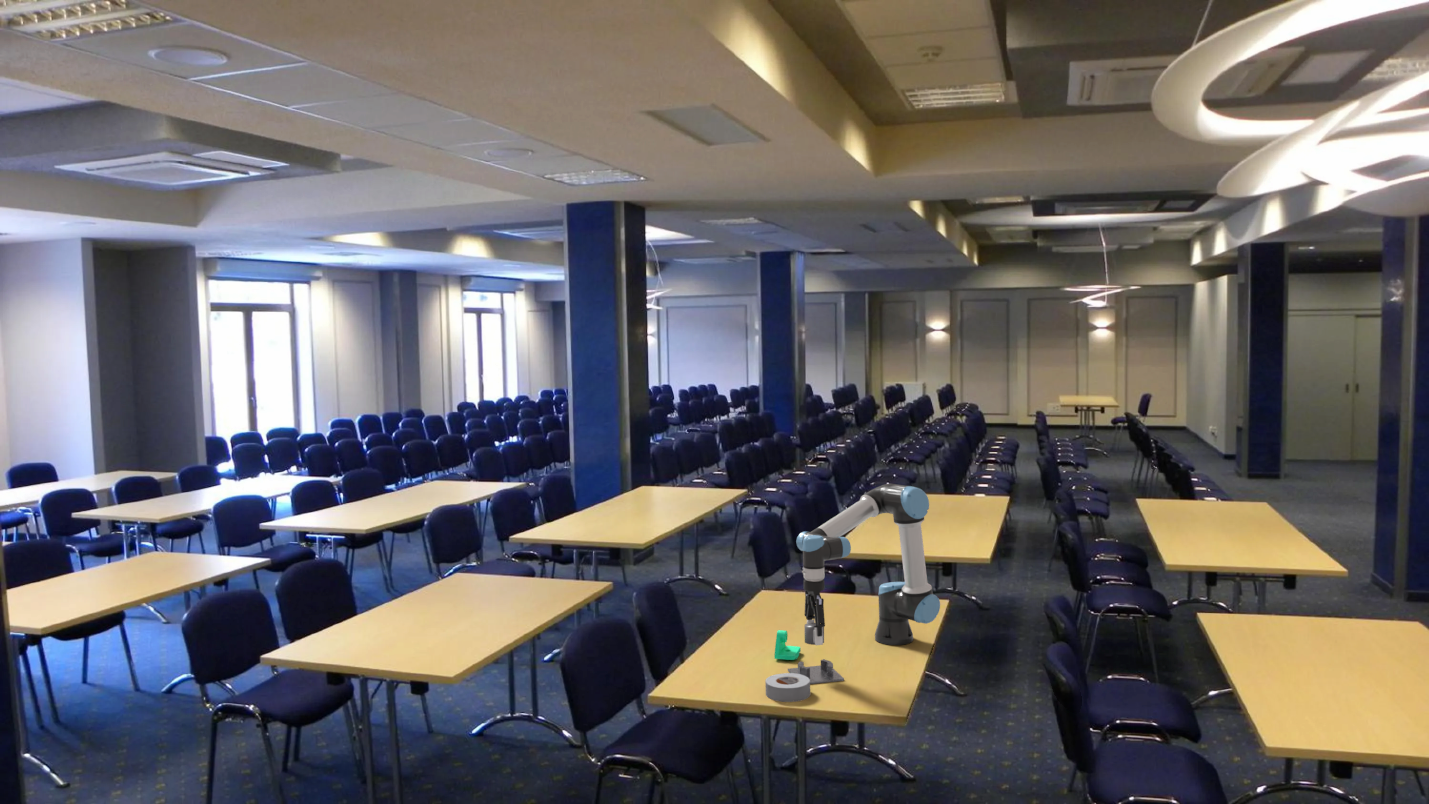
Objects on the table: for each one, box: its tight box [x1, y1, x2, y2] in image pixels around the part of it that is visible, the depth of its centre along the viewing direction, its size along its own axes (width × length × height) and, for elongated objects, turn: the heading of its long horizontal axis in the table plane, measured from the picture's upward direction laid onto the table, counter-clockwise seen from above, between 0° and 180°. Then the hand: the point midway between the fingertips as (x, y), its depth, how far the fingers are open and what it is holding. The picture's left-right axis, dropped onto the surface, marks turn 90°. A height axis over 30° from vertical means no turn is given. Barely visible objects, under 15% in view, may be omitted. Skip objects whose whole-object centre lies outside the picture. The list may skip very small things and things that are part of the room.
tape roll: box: [764, 672, 811, 703], centre depth 344 cm, size 15×15×5 cm
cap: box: [804, 622, 825, 646], centre depth 361 cm, size 7×8×6 cm
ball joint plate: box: [787, 658, 845, 685], centre depth 361 cm, size 16×16×4 cm
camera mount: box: [774, 629, 801, 661], centre depth 384 cm, size 12×8×10 cm, turn 163°
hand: (814, 640), depth 361 cm, fingers closed on cap, 8 cm apart
